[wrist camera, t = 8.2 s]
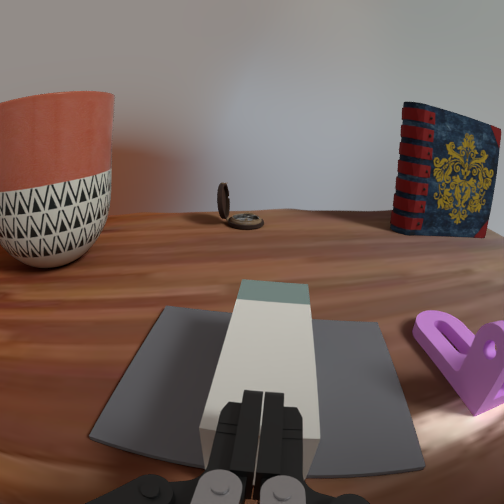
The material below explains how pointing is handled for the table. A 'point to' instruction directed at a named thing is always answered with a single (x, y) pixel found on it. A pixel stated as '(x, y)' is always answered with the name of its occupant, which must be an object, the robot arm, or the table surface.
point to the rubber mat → (201, 377)
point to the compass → (236, 220)
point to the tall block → (267, 359)
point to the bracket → (465, 357)
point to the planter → (54, 175)
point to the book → (444, 173)
